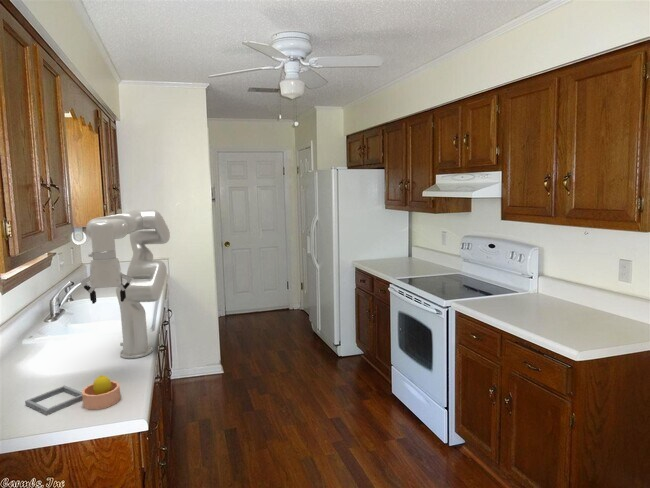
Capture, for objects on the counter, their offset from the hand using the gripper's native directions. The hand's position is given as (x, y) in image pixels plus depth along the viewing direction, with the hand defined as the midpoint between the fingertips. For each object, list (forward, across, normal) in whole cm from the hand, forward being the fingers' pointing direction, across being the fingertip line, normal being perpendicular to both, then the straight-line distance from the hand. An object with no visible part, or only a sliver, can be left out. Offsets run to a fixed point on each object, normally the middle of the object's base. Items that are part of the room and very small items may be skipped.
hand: (108, 301), depth 173 cm
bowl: (+28, 0, -21) cm, 35 cm away
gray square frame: (+28, -15, -18) cm, 37 cm away
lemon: (+28, 0, -21) cm, 35 cm away
